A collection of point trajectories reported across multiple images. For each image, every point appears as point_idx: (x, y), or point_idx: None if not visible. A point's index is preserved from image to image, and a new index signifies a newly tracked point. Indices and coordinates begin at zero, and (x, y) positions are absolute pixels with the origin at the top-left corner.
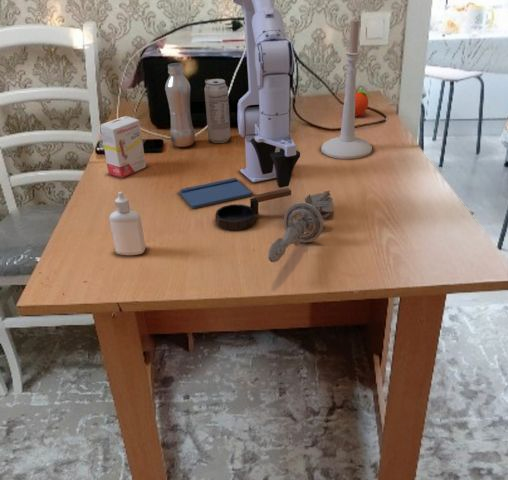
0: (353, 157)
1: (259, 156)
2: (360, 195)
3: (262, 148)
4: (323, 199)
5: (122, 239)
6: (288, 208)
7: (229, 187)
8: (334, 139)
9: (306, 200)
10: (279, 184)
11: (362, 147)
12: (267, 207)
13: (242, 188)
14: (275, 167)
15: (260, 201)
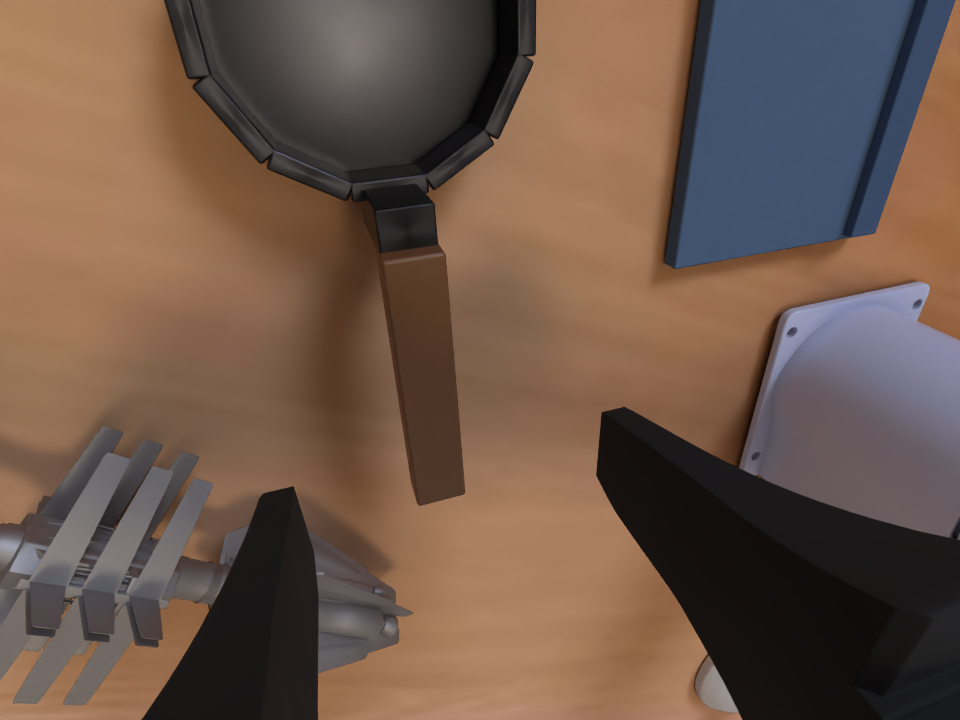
0: (705, 666)
1: (723, 506)
2: (426, 673)
3: (781, 608)
4: None
5: None
6: None
7: (814, 159)
8: None
9: (30, 622)
10: (254, 518)
11: (728, 704)
12: (486, 308)
13: (754, 233)
14: (242, 673)
15: (380, 275)
